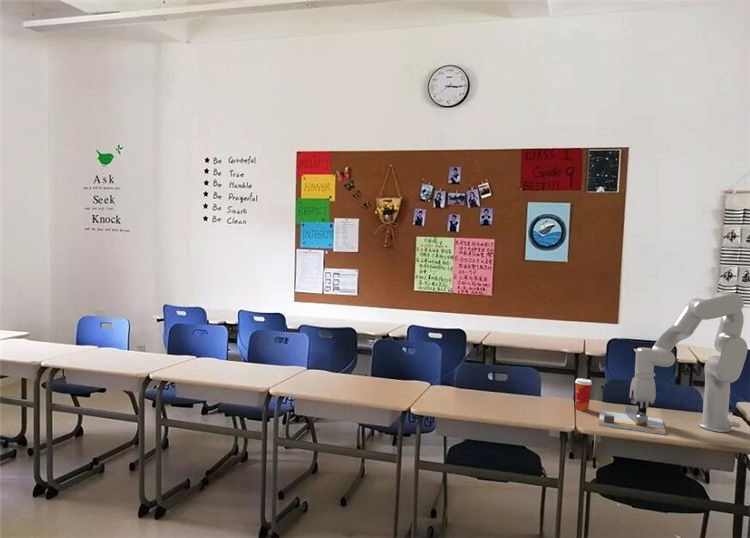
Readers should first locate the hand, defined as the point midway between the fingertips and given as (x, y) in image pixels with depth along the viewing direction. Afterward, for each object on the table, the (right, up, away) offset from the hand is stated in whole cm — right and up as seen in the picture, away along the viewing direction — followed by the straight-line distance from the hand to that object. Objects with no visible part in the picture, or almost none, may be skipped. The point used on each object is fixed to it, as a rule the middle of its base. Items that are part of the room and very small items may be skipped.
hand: (642, 416), depth 263 cm
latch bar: (-4, -1, -3) cm, 5 cm away
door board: (-6, -2, -3) cm, 8 cm away
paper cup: (-21, -1, +16) cm, 27 cm away
